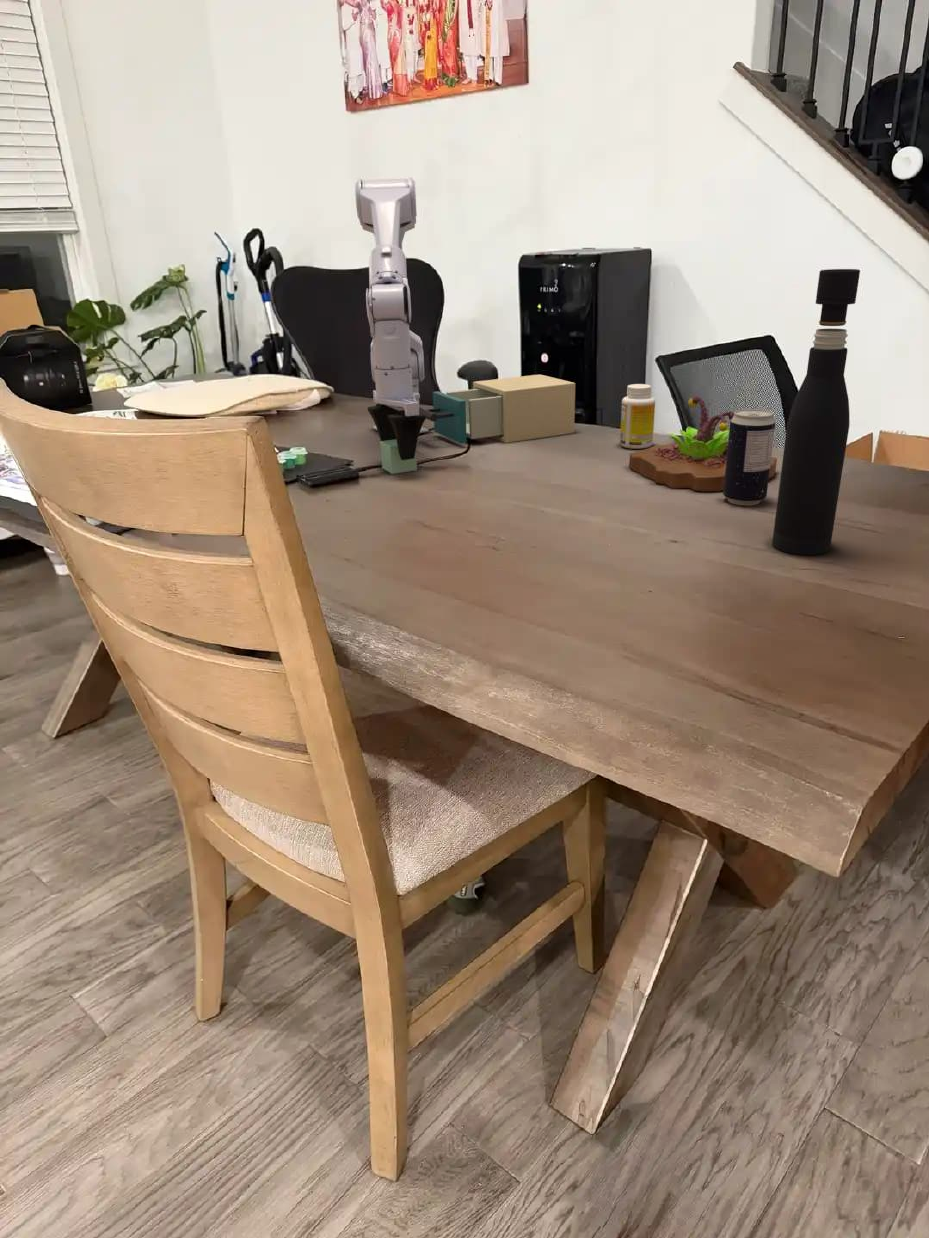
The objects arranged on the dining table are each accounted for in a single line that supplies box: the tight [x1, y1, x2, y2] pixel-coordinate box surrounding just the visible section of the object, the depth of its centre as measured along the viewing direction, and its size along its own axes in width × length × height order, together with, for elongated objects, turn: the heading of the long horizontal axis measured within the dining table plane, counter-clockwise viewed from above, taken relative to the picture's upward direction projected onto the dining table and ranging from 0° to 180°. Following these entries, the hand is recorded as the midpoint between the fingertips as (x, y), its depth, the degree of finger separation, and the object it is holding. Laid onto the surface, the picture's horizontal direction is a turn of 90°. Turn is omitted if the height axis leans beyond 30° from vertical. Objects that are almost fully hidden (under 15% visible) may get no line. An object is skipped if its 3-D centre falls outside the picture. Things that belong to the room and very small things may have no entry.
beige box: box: [472, 374, 576, 444], centre depth 158 cm, size 15×13×9 cm
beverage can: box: [722, 408, 776, 506], centre depth 113 cm, size 6×6×12 cm
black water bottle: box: [771, 268, 861, 556], centre depth 93 cm, size 6×6×30 cm
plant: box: [628, 396, 778, 492], centre depth 128 cm, size 20×20×11 cm
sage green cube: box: [379, 439, 418, 475], centre depth 136 cm, size 4×4×4 cm
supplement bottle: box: [619, 383, 656, 450], centre depth 144 cm, size 6×6×10 cm
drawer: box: [419, 388, 503, 444], centre depth 153 cm, size 18×11×7 cm, turn 116°
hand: (398, 454), depth 136 cm, fingers open, 7 cm apart
